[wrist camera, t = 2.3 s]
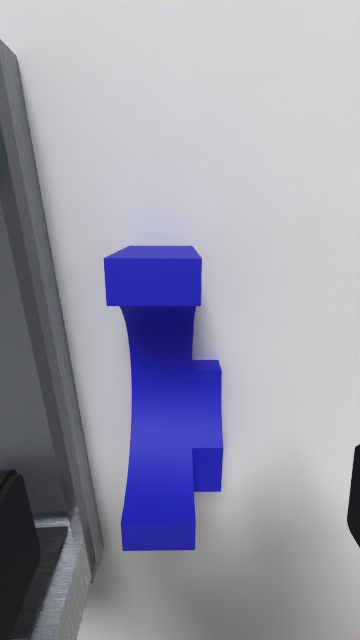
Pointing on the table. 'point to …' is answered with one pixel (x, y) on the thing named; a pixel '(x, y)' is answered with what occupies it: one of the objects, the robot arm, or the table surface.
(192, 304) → the blue curved block
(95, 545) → the vise base
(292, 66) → the table surface
